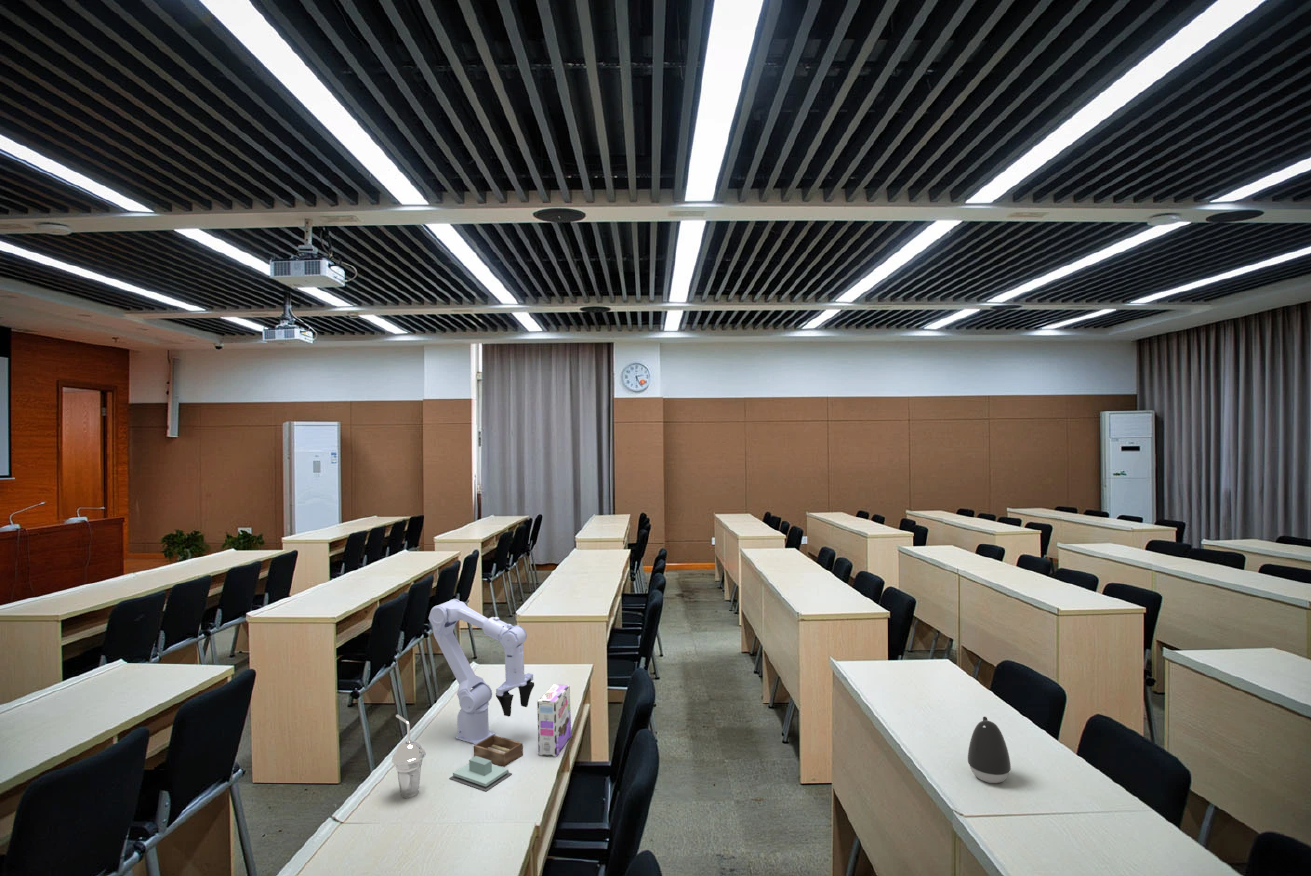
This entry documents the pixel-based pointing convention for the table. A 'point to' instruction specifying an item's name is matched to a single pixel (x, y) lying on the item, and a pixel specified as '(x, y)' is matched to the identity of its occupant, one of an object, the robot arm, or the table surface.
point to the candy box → (554, 720)
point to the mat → (481, 785)
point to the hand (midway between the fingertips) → (515, 710)
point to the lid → (480, 771)
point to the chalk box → (499, 750)
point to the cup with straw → (408, 764)
